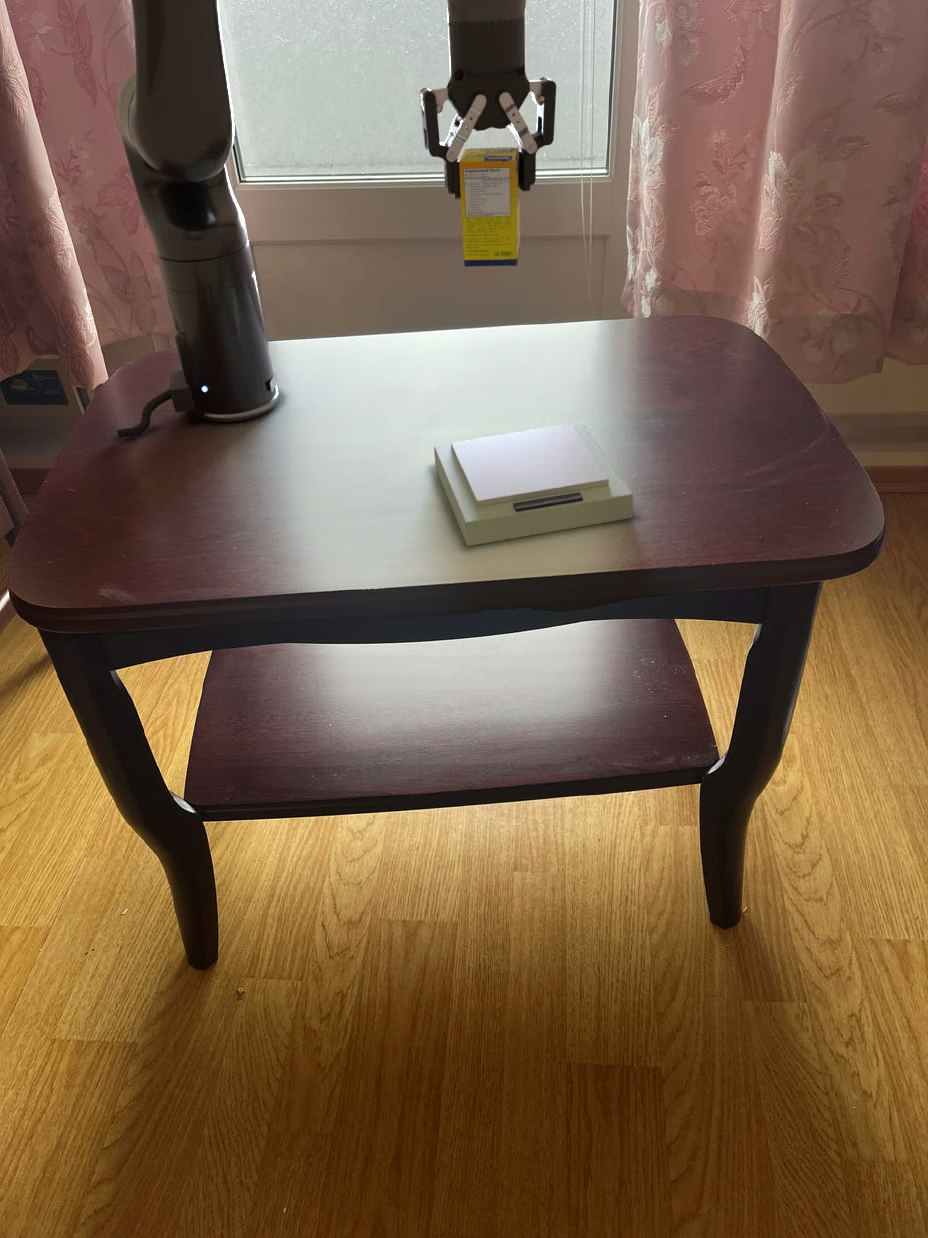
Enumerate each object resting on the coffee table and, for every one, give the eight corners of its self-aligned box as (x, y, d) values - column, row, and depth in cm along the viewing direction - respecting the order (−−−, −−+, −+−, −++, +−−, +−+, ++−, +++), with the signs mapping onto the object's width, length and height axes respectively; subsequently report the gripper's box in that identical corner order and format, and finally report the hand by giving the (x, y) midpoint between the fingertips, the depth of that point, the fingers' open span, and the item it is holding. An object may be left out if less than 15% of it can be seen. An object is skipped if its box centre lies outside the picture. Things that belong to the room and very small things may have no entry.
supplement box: (520, 249, 108) (519, 145, 102) (517, 267, 104) (516, 158, 97) (468, 250, 109) (464, 146, 102) (463, 267, 104) (458, 160, 98)
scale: (467, 546, 82) (465, 516, 80) (435, 468, 93) (433, 440, 91) (631, 518, 84) (633, 488, 82) (582, 445, 95) (582, 417, 93)
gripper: (546, 2, 96) (544, 178, 106) (406, 13, 94) (418, 191, 104) (569, 10, 90) (564, 195, 100) (420, 22, 88) (431, 210, 98)
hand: (490, 193), depth 102 cm, fingers closed on supplement box, 7 cm apart
